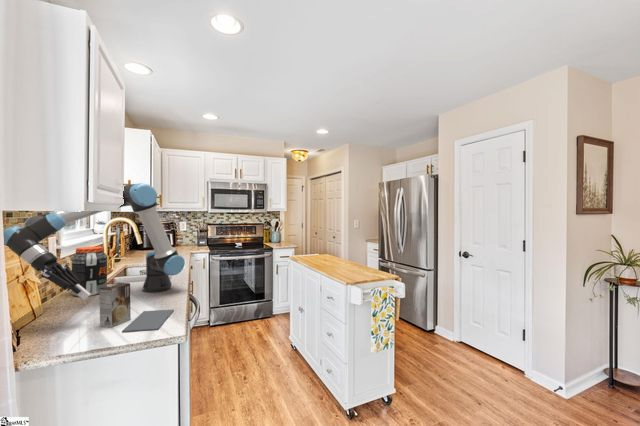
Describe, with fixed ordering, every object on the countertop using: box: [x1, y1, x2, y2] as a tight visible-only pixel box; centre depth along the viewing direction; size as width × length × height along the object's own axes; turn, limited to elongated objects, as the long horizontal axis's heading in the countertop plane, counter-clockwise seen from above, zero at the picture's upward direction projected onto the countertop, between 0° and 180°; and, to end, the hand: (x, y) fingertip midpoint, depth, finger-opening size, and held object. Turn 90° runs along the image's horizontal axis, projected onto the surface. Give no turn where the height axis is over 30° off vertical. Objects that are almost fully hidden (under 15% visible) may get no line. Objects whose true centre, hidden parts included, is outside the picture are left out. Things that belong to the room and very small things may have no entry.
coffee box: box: [99, 282, 132, 328], centre depth 122 cm, size 9×6×16 cm
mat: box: [121, 308, 175, 333], centre depth 125 cm, size 22×13×1 cm, turn 12°
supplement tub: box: [71, 245, 108, 297], centre depth 163 cm, size 16×16×26 cm
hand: (87, 297), depth 120 cm, fingers closed
